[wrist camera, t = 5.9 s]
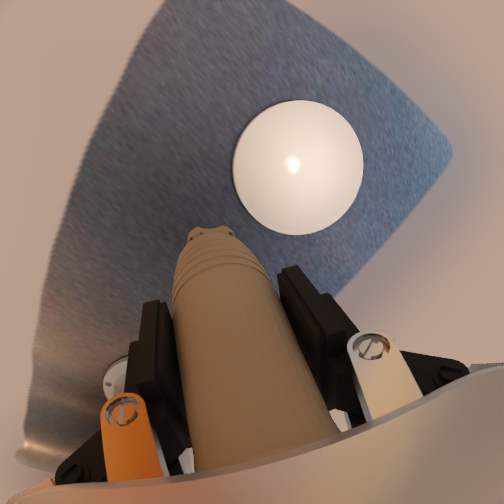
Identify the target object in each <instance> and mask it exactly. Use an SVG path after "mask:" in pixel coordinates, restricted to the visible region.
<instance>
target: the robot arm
mask: <svg viewBox="0 0 504 504" xmlns="http://www.w3.org/2000/svg"><path fill="white" fill-rule="evenodd" d="M277 278H278V285H279V292H280V299H281V303H282V305H283V308H284V310H285V312H286V315H287V317H288V319H289V322H290V324H291V327H292V329H293V331H294V334H295V336H296V339H297V341H298V343H299V346H300V348H301V351H302V353H303V355H304V357H305V360H306V362H307V364H308V366H309V369H310V371H311V373H312V375H313V377H314V380H315V382H316V384H317V386H318V389H319V391H320V393H321V395H322V397H323V400H324V402H325V404H326V406H327V409H328V411H330V410H332V409H335V408H336V409H337V410H341V411H344V415H345V419H346V423H347V426H348V430H347V431H345V432H342V433H339V434H337V435H334V436H331V437H329V438H326V439H323V440H320V441H317V442H314V443H311V444H308V445H305V446H302V447H299V448H296V449H292V450H289V451H286V452H282V453H279V454H275V455H272V456H268V457H264V458H261V459H257V460H253V461H249V462H244V463H240V464H236V465H231V466H226V467H222V468H217V469H211V470H206V471H200V472H195V473H192V472H191V464H190V456H189V448H191V447H192V444H191V438H190V433H189V427H188V421H187V415H186V409H185V402H184V396H183V389H182V382H181V376H180V370H179V363H178V356H177V350H176V343H175V335H174V328H173V321H172V318H171V315H170V313H169V310H168V307H167V305H166V303H165V302H163V303H160V301H159V299H158V300H154V301H149V302H145V303H143V310H142V317H141V325H140V333H139V341H134V342H131V343H130V346H129V353H128V357H125V358H122V359H120V360H118V361H116V362H114V363H113V364H112V365H111V366H110V367H109V368H108V369H107V371H106V373H105V375H104V380H103V390H104V393H105V396H106V397H107V399H108V401H107V402H106V403H105V405H104V406H103V408H102V410H101V415H100V420H101V429H100V430H99V431H98V432H97V433H95V434H94V435H93V436H92V437H91V438H90V439H89V440H88V441H86V442H85V443H84V444H83V445H82V446H81V447H80V448H78V449H77V450H76V451H75V452H74V453H73V454H72V455H71V456H69V457H68V458H67V459H66V460H65V461H64V462H63V463H62V464H61V465H60V466H59V467H58V469H57V471H56V473H55V478H54V479H52V478H50V477H48V478H46V479H45V480H43V481H41V482H39V483H37V484H36V485H34V486H32V487H30V488H28V489H27V490H25V491H23V492H21V493H19V494H17V495H15V496H14V497H12V498H11V499H9V500H8V502H7V503H6V504H504V363H489V364H488V363H487V364H471V365H470V368H467V367H466V366H465V365H464V364H463V363H461V362H459V361H456V360H453V359H448V358H441V357H435V356H429V355H423V354H417V353H411V352H406V351H400V350H399V349H398V347H397V345H396V343H395V341H394V340H393V339H392V338H391V337H390V336H389V335H388V334H386V333H384V332H381V331H378V330H366V331H362V332H360V331H359V330H358V329H357V327H356V326H355V325H354V324H353V323H352V321H351V320H350V319H349V317H348V316H347V315H346V314H345V312H344V311H343V310H342V309H341V307H340V306H339V305H338V304H337V303H336V301H335V300H334V299H333V298H332V296H331V295H330V294H329V293H325V294H321V295H320V294H319V292H318V291H317V290H316V288H315V287H314V286H313V284H312V283H311V282H310V281H309V279H308V278H307V277H306V275H305V274H304V273H303V272H302V270H301V269H300V268H299V266H298V265H294V266H291V267H287V268H283V269H282V273H280V274H277Z"/></svg>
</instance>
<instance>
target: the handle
mask: <svg viewBox="0 0 504 504" xmlns="http://www.w3.org/2000/svg"><path fill="white" fill-rule="evenodd" d="M187 240H188V242H187V245H186V246H185V248H184V249H183V250H182V252H181V253H180V255H179V258H178V262H177V266H176V270H175V275H174V282H173V290H172V320H173V328H174V335H175V343H176V350H177V356H178V363H179V370H180V376H181V382H182V389H183V396H184V402H185V409H186V415H187V421H188V427H189V433H190V438H191V444H192V449H193V454H194V469H195V472H200V471H206V470H211V469H217V468H222V467H226V466H231V465H236V464H240V463H244V462H249V461H253V460H257V459H261V458H264V457H268V456H272V455H275V454H279V453H282V452H286V451H289V450H292V449H296V448H299V447H302V446H305V445H308V444H311V443H314V442H317V441H320V440H323V439H326V438H329V437H331V436H334V435H337V434H339V433H341V431H340V430H339V428H338V427H337V425H336V424H335V422H334V421H333V419H332V418H331V416H330V413H329V411H328V409H327V406H326V404H325V402H324V400H323V397H322V395H321V393H320V391H319V389H318V386H317V384H316V382H315V380H314V377H313V375H312V373H311V371H310V369H309V366H308V364H307V362H306V360H305V357H304V355H303V353H302V351H301V348H300V346H299V343H298V341H297V339H296V336H295V334H294V331H293V329H292V327H291V324H290V322H289V319H288V317H287V315H286V312H285V310H284V308H283V305H282V303H281V300H280V298H279V296H278V293H277V291H276V289H275V287H274V285H273V284H272V282H271V280H270V278H269V276H268V275H267V273H266V271H265V269H264V268H263V266H262V265H261V263H260V262H259V261H258V260H257V258H256V257H255V256H254V255H253V253H252V252H251V251H250V250H249V249H248V248H247V247H246V246H245V245H244V244H243V243H242V242H241V241H239V240H238V239H237V238H235V234H234V232H233V231H232V230H231V229H229V228H228V227H226V226H223V225H222V226H220V227H218V228H213V229H204V228H201V227H196V228H194V229H193V230H192V231H190V233H189V234H188V239H187Z"/></svg>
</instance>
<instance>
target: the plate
mask: <svg viewBox="0 0 504 504" xmlns="http://www.w3.org/2000/svg"><path fill="white" fill-rule="evenodd" d="M362 175H363V156H362V150H361V146H360V143H359V141H358V138H357V136H356V134H355V132H354V130H353V129H352V127H351V126H350V124H349V123H348V122H347V121H346V120H345V119H344V118H343V117H342V116H341V115H340V114H339V113H337V112H336V111H334V110H333V109H331V108H330V107H327V106H325V105H323V104H320V103H317V102H313V101H305V100H296V101H289V102H283V103H279V104H276V105H273V106H271V107H269V108H267V109H265V110H263V111H262V112H260V113H259V114H258V115H256V116H255V117H254V118H253V119H252V120H251V121H250V122H249V123H248V124H247V126H246V127H245V128H244V130H243V131H242V133H241V134H240V136H239V139H238V141H237V143H236V146H235V149H234V153H233V158H232V178H233V182H234V187H235V189H236V192H237V195H238V197H239V198H240V200H241V202H242V204H243V205H244V206H245V208H246V209H247V210H248V212H249V213H250V214H251V215H252V216H253V217H254V218H255V219H256V220H257V221H258V222H260V223H261V224H262V225H264V226H266V227H267V228H269V229H271V230H274V231H276V232H279V233H283V234H290V235H303V234H310V233H313V232H317V231H319V230H322V229H324V228H326V227H328V226H329V225H331V224H333V223H334V222H335V221H337V220H338V219H339V218H340V217H341V216H342V215H343V214H344V213H345V212H346V211H347V210H348V208H349V207H350V206H351V204H352V203H353V201H354V199H355V197H356V195H357V193H358V190H359V188H360V184H361V180H362Z"/></svg>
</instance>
